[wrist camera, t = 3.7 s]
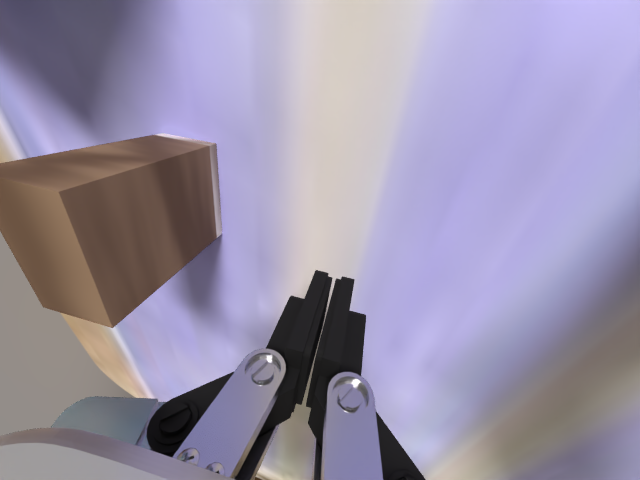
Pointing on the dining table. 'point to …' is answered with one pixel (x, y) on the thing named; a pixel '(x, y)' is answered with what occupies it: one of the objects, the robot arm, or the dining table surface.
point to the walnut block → (110, 220)
